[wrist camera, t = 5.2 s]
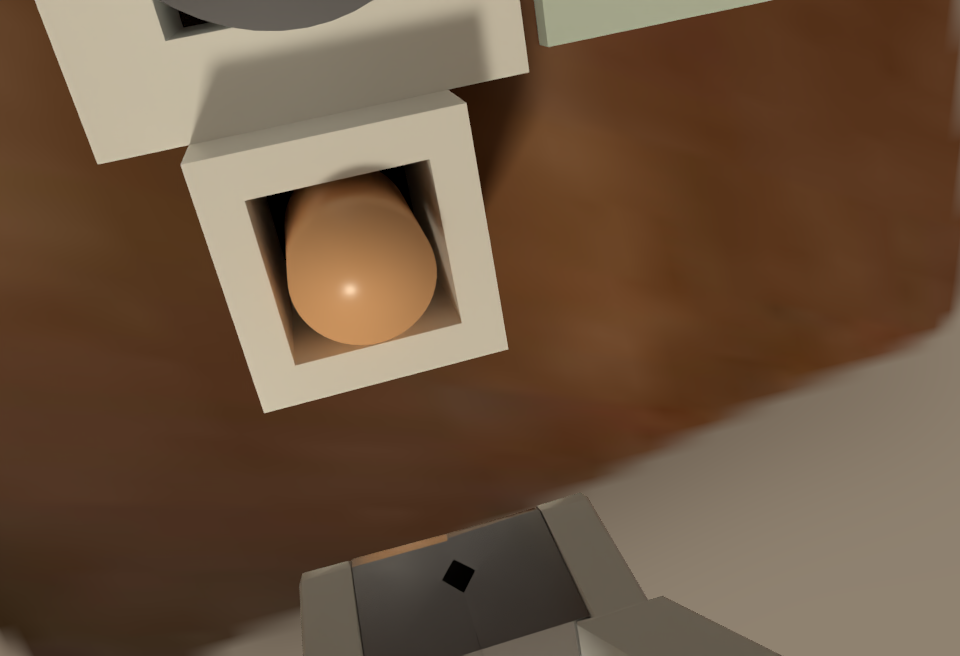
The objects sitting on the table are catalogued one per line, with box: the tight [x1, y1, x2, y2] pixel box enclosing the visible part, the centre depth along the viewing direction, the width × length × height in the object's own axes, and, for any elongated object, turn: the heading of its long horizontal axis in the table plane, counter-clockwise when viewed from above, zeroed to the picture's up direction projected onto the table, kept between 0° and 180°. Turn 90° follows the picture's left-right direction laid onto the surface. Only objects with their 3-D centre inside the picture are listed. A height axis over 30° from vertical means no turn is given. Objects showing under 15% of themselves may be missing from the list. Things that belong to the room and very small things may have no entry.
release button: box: [284, 171, 437, 345], centre depth 19 cm, size 3×3×4 cm
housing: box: [35, 0, 529, 413], centre depth 18 cm, size 16×10×6 cm, turn 10°
